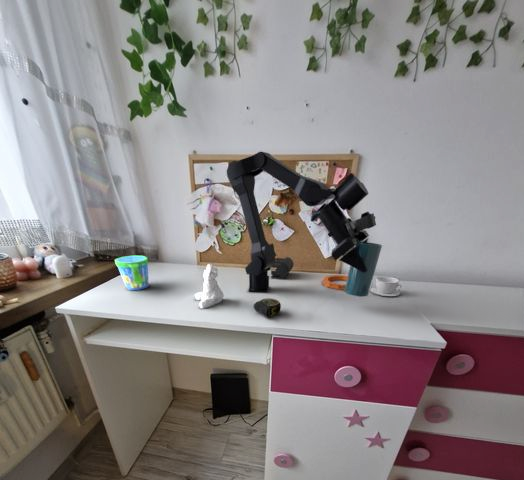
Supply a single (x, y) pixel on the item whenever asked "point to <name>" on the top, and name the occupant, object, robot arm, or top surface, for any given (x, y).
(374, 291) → the teacup
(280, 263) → the end cap
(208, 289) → the sitting furry creature
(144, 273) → the snack cup
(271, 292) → the top surface
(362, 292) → the cup
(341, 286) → the ring
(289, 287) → the top surface
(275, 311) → the tape measure
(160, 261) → the top surface
